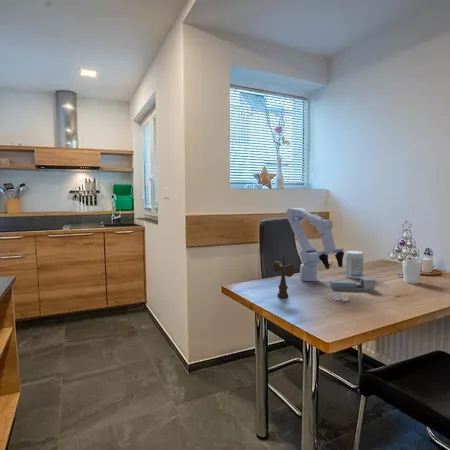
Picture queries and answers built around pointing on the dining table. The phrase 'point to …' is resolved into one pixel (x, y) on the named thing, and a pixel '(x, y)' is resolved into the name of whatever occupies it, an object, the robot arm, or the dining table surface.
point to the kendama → (283, 276)
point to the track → (365, 285)
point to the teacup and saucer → (339, 296)
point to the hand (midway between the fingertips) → (334, 267)
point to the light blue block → (342, 284)
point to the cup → (411, 270)
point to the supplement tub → (354, 264)
